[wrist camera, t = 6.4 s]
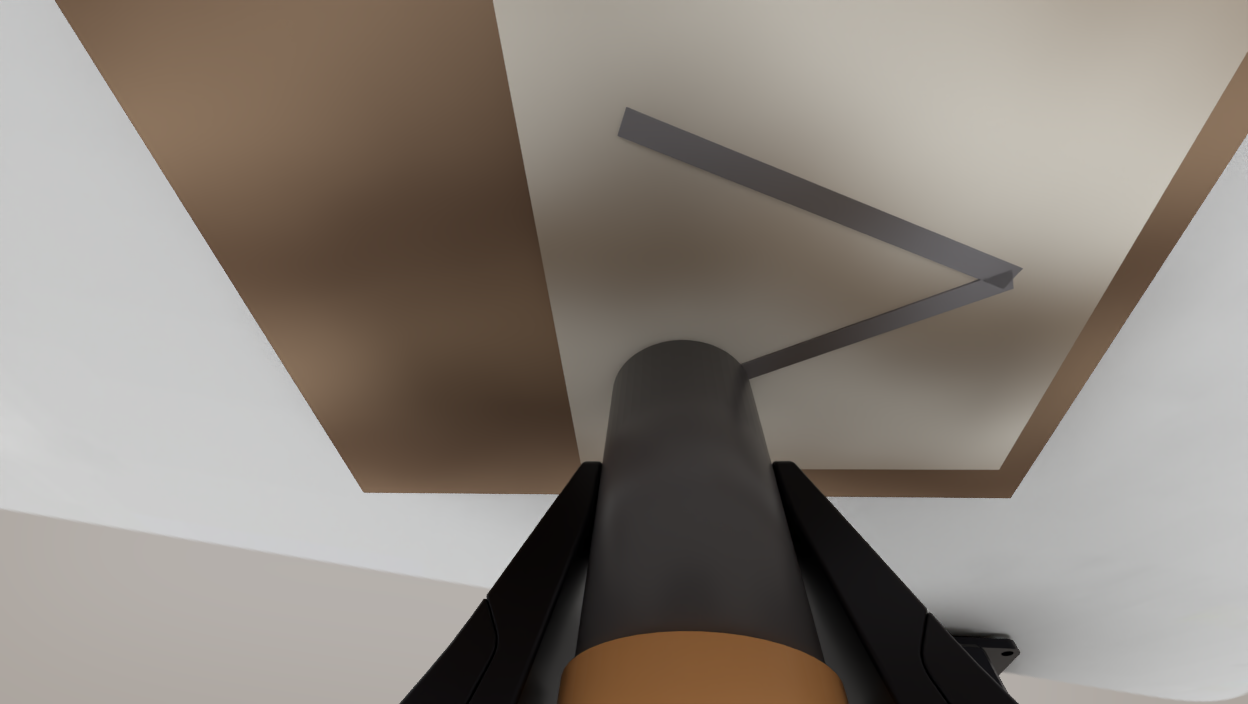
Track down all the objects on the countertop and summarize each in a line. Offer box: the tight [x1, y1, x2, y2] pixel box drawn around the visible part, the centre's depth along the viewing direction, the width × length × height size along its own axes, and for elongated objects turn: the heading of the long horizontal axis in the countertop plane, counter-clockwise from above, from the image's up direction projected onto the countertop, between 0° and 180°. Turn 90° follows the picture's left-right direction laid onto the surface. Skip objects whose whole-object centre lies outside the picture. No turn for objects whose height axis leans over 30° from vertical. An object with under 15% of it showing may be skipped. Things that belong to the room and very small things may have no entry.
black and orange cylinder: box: [557, 340, 849, 704], centre depth 8 cm, size 4×4×9 cm
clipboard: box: [55, 0, 1248, 498], centre depth 10 cm, size 17×21×2 cm
